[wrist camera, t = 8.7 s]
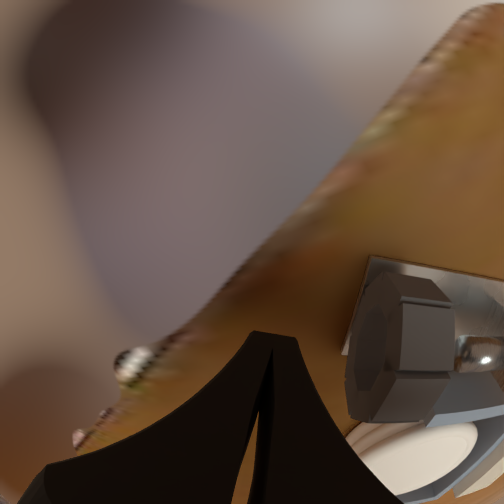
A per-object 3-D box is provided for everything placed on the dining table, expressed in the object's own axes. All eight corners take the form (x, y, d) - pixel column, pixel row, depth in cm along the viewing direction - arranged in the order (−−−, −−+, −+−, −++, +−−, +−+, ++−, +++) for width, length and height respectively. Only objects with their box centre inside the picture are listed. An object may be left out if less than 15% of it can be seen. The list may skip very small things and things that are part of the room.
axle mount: (483, 356, 12) (527, 427, 6) (340, 349, 13) (355, 459, 7) (517, 283, 10) (583, 341, 4) (369, 254, 11) (426, 344, 5)
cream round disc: (324, 469, 17) (324, 504, 14) (362, 392, 14) (370, 439, 11) (429, 459, 16) (436, 488, 13) (486, 382, 13) (505, 415, 9)
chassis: (462, 465, 16) (472, 498, 11) (338, 480, 17) (339, 525, 13) (543, 362, 11) (569, 397, 7) (416, 370, 13) (442, 434, 8)
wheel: (377, 362, 12) (401, 447, 7) (340, 359, 13) (352, 449, 8) (415, 263, 11) (476, 331, 6) (373, 255, 11) (421, 327, 6)
